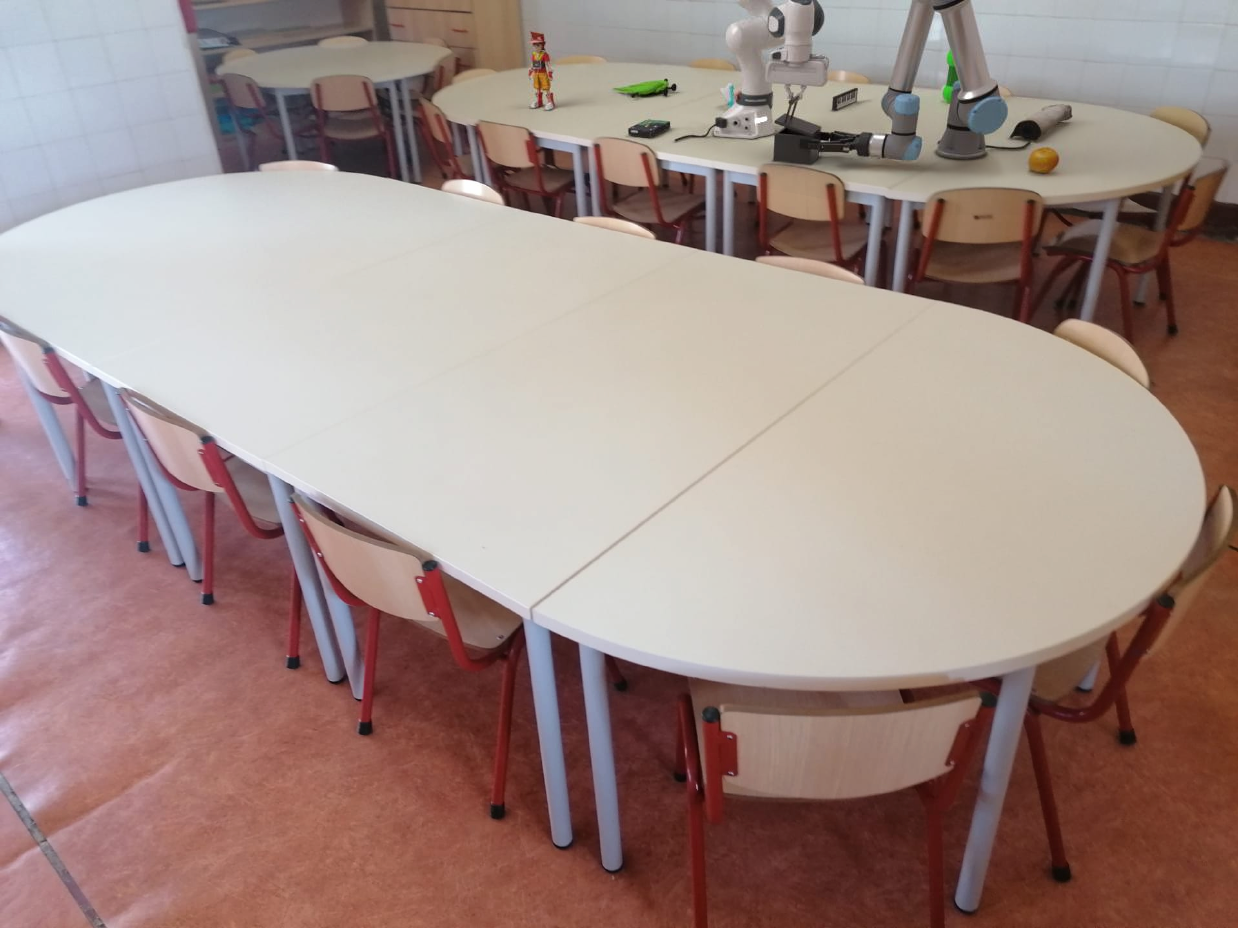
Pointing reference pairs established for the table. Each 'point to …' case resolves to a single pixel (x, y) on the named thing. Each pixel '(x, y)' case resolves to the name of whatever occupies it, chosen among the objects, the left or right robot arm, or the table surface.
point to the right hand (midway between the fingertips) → (805, 139)
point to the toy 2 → (648, 88)
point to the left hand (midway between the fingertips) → (794, 99)
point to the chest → (793, 147)
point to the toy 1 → (541, 71)
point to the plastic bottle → (950, 78)
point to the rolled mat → (1042, 122)
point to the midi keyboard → (844, 98)
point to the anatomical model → (729, 94)
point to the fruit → (1043, 160)
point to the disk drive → (649, 128)
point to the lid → (796, 121)
